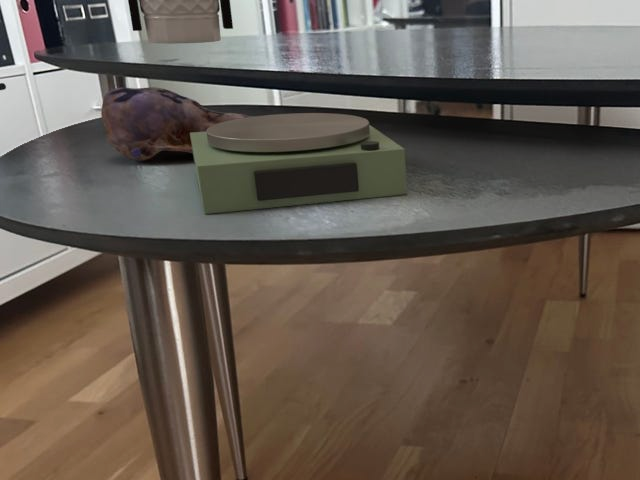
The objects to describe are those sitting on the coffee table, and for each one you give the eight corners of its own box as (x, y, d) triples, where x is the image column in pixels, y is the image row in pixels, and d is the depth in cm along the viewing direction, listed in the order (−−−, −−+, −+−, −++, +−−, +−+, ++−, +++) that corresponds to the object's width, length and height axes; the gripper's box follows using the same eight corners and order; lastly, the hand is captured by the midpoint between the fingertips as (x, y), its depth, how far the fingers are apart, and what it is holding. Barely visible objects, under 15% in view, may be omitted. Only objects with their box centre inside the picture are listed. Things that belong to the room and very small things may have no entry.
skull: (271, 139, 73) (256, 66, 70) (248, 170, 67) (230, 92, 64) (136, 148, 74) (115, 76, 71) (100, 179, 68) (75, 102, 64)
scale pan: (204, 130, 62) (202, 119, 62) (352, 119, 65) (351, 109, 65) (212, 157, 53) (210, 144, 52) (386, 144, 56) (385, 131, 55)
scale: (196, 173, 64) (188, 127, 63) (365, 158, 68) (362, 114, 66) (205, 216, 52) (196, 160, 51) (408, 195, 56) (406, 143, 55)
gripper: (3, -281, 66) (63, 34, 75) (271, -260, 72) (296, 28, 82) (16, -258, 72) (71, 29, 82) (261, -241, 79) (285, 24, 88)
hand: (183, 28), depth 82 cm, fingers closed on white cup, 8 cm apart
